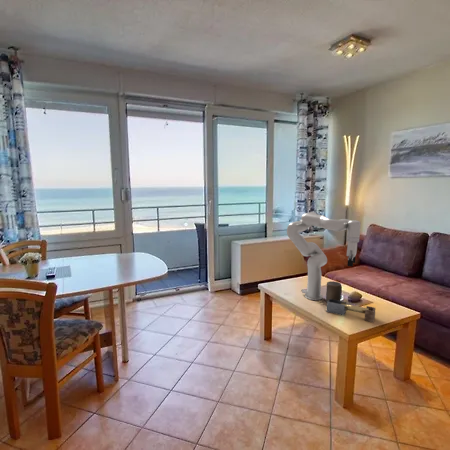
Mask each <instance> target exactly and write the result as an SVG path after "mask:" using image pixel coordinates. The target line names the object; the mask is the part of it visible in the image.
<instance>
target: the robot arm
mask: <svg viewBox="0 0 450 450" xmlns="http://www.w3.org/2000/svg"><path fill="white" fill-rule="evenodd" d="M312 226H313V227H316V228H317V227H319V228H322V229H324V230H328V231H334V232H342V231H347V236H346V242H347V248H346V257H347V267H353V266H354V264H355V263H356V255H357V250H358V243H360V237H361V236H360V234H361V221H359V220H355V219H352V220H351V219H348V218H341V219H331V218H327V217H326V216H325V215H323V214H318V213H316V212H313V211H310V212H305V213H303V214H302V215H301V218H300V219H299V220H297V221H293V222H290V223H289V224H288V225H287V228H286V235H287V237H288V238H289V240H290V241H291V242H292V244H293V245H294V246H295V248H296V249H297V250H298V251H299V252H300V254H301V255H302V256H303V257H309V258H308V259H307V263H306V264H307V286H306V289H302V288H301V292H302V294H304V297H305V299H307V300H310V301H320V300H323V295H322V294H321V292H322V291H321V290H322V268H321V267H324V266H325V265H327V263H328V258H327V255H326V254H325V253H324V251H323V250H322V249H321V248H320V246H319V245H318V244H317V243H315V242H313V241H307V240H306V239H305V237H303V235H301V234H300V233H301V232H305V231H306V230H308V229H309V228H311V227H312Z"/></svg>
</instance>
